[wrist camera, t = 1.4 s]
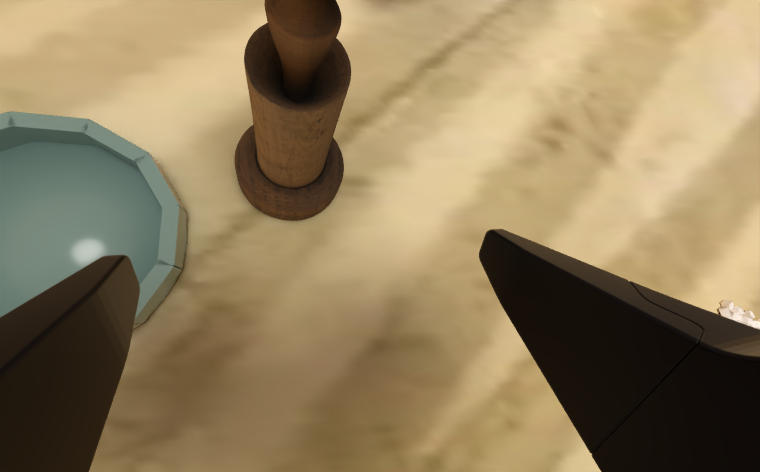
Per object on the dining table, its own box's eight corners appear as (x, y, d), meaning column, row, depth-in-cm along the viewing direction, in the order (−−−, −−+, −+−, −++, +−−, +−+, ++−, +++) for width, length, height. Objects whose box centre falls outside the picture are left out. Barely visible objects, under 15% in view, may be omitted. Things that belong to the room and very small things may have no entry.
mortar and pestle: (246, 228, 21) (118, -87, 4) (231, 134, 22) (77, -424, 5) (347, 213, 23) (524, -37, 6) (329, 129, 24) (442, -282, 7)
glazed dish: (-30, 417, 16) (-76, 434, 14) (-153, 192, 16) (-215, 175, 14) (227, 280, 20) (221, 276, 18) (125, 105, 21) (108, 82, 19)
